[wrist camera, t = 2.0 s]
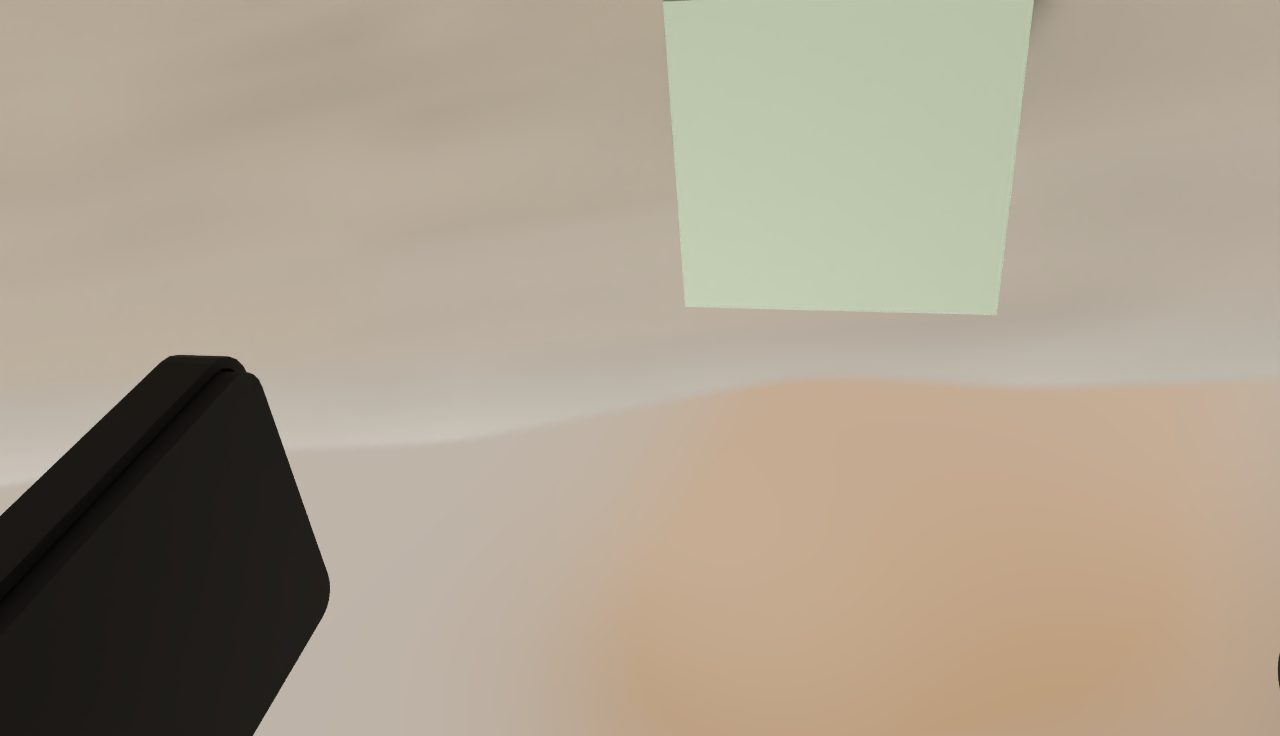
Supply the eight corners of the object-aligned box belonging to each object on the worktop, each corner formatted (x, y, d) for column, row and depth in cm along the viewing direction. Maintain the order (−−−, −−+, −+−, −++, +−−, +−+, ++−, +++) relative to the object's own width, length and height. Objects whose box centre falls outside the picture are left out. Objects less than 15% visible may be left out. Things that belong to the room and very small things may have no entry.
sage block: (990, -115, 20) (1035, -14, 13) (967, 132, 23) (996, 314, 16) (734, -99, 21) (662, 1, 15) (742, 134, 24) (685, 306, 17)
